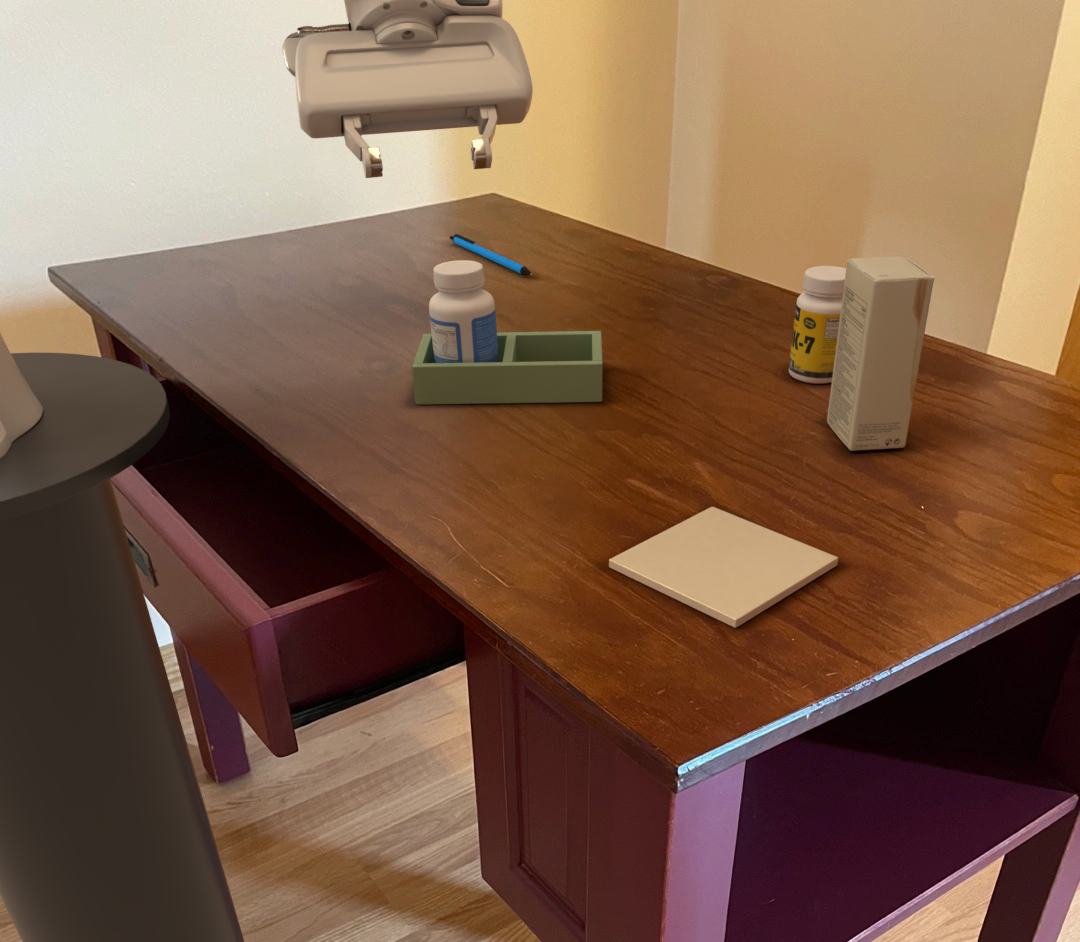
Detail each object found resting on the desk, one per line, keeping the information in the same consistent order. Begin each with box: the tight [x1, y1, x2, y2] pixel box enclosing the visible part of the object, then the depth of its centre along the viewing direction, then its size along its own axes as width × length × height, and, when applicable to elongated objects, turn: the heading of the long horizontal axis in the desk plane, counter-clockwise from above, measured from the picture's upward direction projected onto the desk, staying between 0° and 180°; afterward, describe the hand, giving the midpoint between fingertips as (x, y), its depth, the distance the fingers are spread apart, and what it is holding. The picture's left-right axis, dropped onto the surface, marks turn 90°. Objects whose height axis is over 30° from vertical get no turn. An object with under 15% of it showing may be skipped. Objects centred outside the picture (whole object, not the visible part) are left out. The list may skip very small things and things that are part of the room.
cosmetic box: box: [826, 255, 935, 452], centre depth 79 cm, size 6×4×12 cm
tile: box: [608, 506, 839, 629], centre depth 67 cm, size 10×10×1 cm
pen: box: [449, 233, 533, 276], centre depth 123 cm, size 1×19×1 cm, turn 31°
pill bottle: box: [428, 259, 499, 363], centre depth 90 cm, size 6×5×10 cm
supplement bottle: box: [788, 265, 846, 385], centre depth 90 cm, size 5×5×8 cm
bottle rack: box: [411, 330, 604, 406], centre depth 91 cm, size 8×15×3 cm, turn 88°
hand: (429, 169), depth 92 cm, fingers open, 8 cm apart
